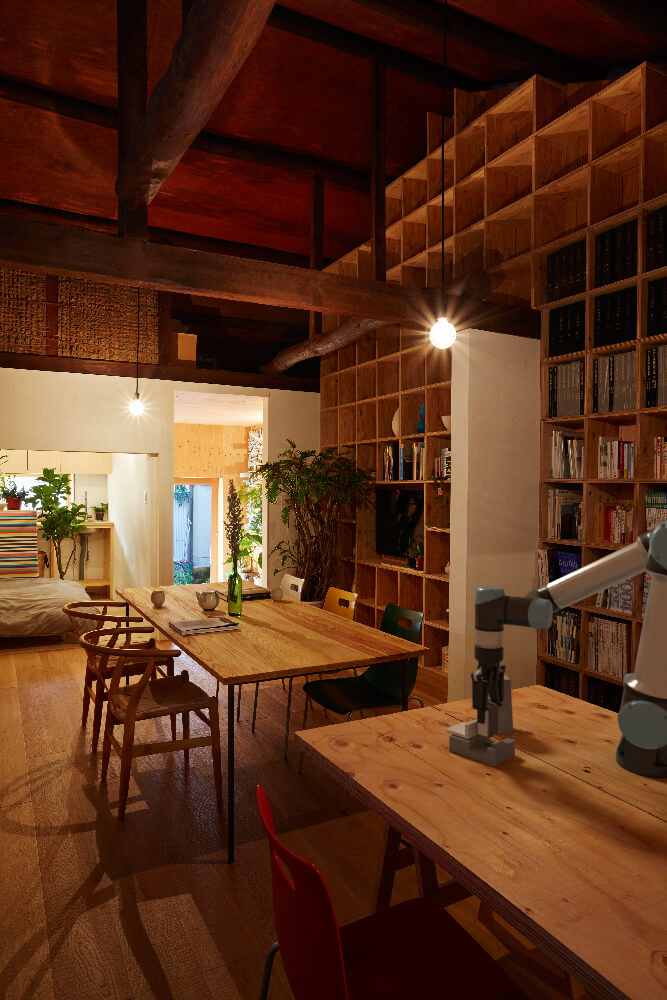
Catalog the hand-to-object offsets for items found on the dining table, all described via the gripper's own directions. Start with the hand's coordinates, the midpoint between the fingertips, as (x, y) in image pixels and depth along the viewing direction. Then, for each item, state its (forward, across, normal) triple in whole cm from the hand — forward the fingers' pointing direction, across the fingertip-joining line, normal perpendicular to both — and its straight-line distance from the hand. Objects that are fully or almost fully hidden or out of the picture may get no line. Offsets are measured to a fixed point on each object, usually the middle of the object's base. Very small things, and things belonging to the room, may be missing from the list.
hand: (487, 732), depth 171 cm
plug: (0, 0, 0) cm, 0 cm away
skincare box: (+6, -18, -8) cm, 21 cm away
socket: (+6, 0, -2) cm, 6 cm away
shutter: (+2, 0, -7) cm, 7 cm away
